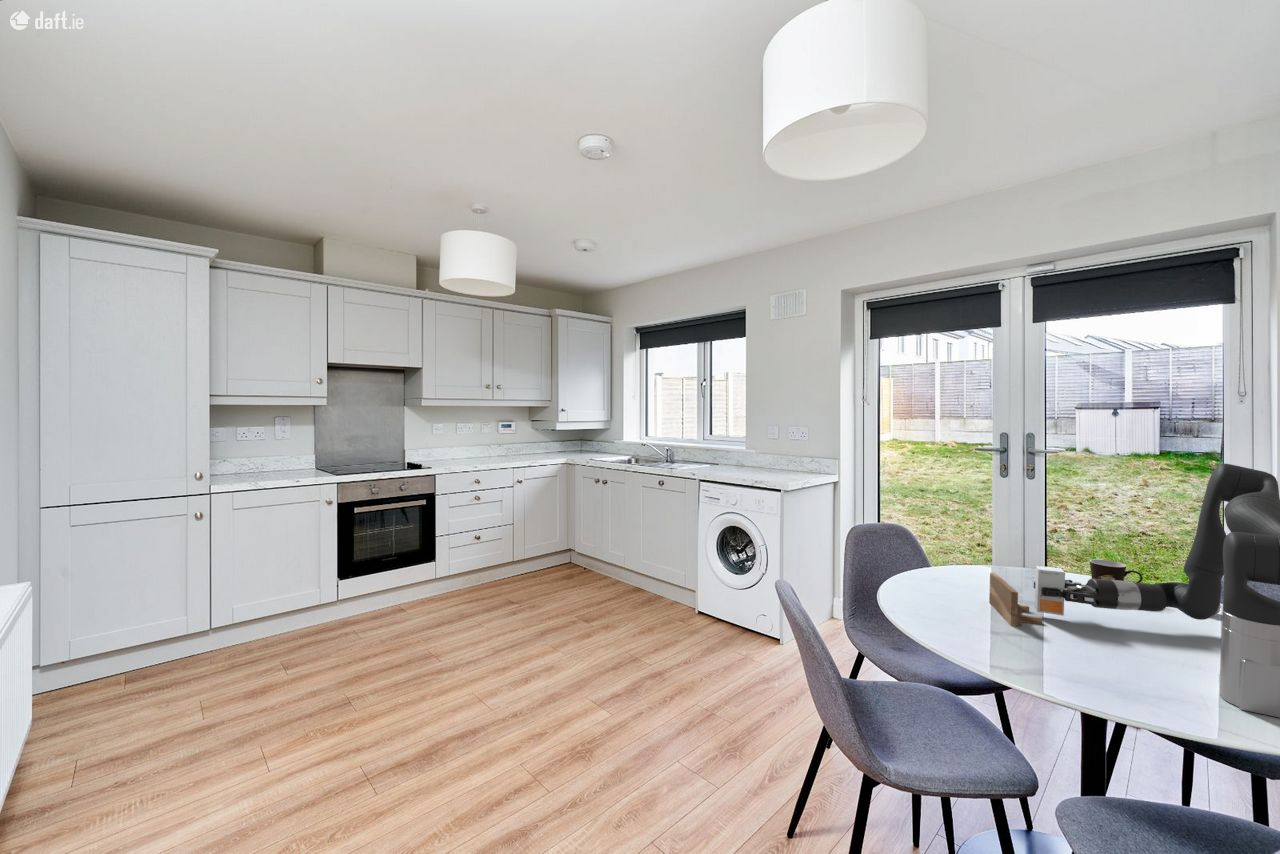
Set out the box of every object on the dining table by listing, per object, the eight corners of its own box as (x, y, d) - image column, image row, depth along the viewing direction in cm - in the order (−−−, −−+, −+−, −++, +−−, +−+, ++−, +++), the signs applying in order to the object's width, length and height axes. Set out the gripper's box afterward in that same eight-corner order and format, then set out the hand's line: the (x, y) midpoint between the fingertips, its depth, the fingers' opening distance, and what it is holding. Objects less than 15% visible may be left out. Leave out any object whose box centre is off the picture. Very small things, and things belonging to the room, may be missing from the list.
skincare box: (1037, 612, 149) (1037, 569, 148) (1034, 607, 152) (1035, 565, 152) (1064, 616, 146) (1065, 572, 145) (1061, 611, 149) (1062, 568, 149)
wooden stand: (1022, 605, 159) (1023, 575, 158) (1048, 629, 141) (1049, 595, 141) (989, 602, 161) (990, 572, 161) (1010, 625, 144) (1011, 591, 144)
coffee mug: (1082, 592, 171) (1083, 561, 170) (1097, 588, 174) (1098, 558, 174) (1128, 604, 160) (1129, 571, 160) (1143, 600, 164) (1144, 567, 163)
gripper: (1099, 572, 151) (1028, 567, 156) (1128, 588, 138) (1048, 582, 143) (1099, 599, 151) (1027, 593, 157) (1127, 618, 138) (1048, 610, 143)
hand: (1038, 588), depth 150 cm, fingers closed on skincare box, 5 cm apart
